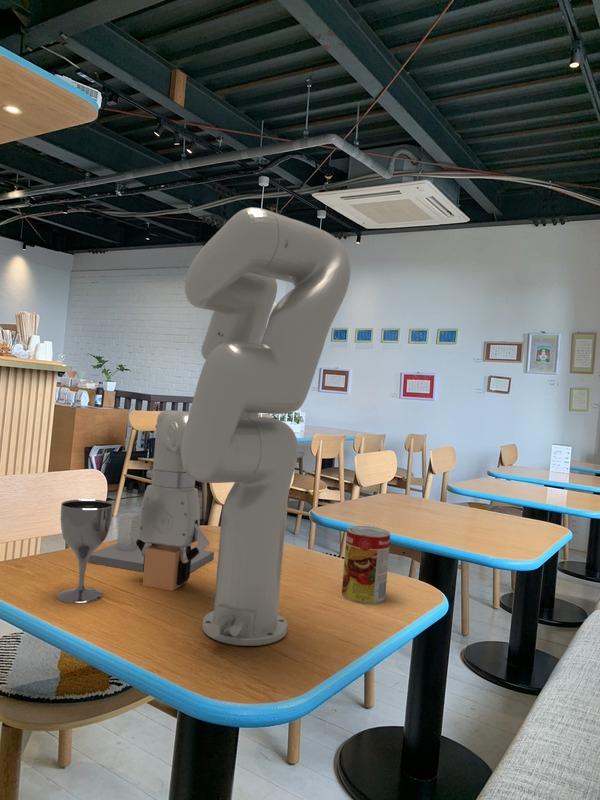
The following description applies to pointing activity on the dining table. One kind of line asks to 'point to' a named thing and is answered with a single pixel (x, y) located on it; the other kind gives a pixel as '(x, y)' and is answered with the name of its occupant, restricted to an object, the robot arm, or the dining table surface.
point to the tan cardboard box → (161, 567)
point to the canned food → (366, 564)
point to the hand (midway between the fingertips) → (165, 579)
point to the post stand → (138, 558)
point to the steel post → (127, 531)
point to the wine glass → (84, 540)
